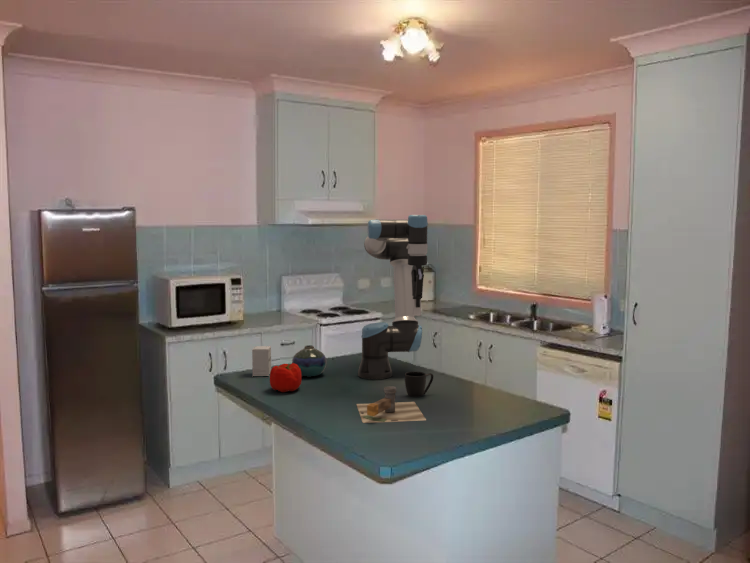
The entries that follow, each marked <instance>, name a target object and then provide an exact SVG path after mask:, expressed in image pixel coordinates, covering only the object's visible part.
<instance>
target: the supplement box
mask: <svg viewBox="0 0 750 563" xmlns="http://www.w3.org/2000/svg"><path fill="white" fill-rule="evenodd" d="M251 351H252V352H251V353H252V354H251V355H252V356H251V358H252V359H251V360H252V377H253V376H269V377H270V375H269V374H270V372H271V369H272V346H270V345H269V346H268V345H258V346H256V345H255V346H254V347H253V348H252V349H251Z"/></svg>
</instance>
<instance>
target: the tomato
mask: <svg viewBox="0 0 750 563" xmlns="http://www.w3.org/2000/svg"><path fill="white" fill-rule="evenodd" d="M269 385H270V387H271V389H272V390H274V391H276V390H278V391H277V392H281V393H286V392H294V391H296V390H298V388H300V386H302V376H301V369H300V368H299V367H298V365H297V364H294V363H292V362H291V363H282V364H280V365H279V366H278V365H275V366H272V367H271V372H270V375H269Z"/></svg>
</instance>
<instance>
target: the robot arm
mask: <svg viewBox="0 0 750 563" xmlns="http://www.w3.org/2000/svg"><path fill="white" fill-rule="evenodd" d="M428 226H429V223H428V216H427V215H426V214H409V215H408V217H407V219H371V220H368V221H367V236H366V238H365V239H364V242H363V247H364V249H365V252H366V253H367V254H368V255H369V256H371V257H372V258H375V259H378V260H389V264H390V266H392V267H393V285H394V287H393V289H394V312H395V313H394V317H395V318H394V319H393V320H392V322H391V325H389V324H388V322H387V321H386V322H382V321H381V322H379V321H378V322H372V323H369V324H365V325H363V327H362V330H361V361H360V363H359V367H358V371H357V376H358V377H359V378H362V379H366V380H384V379H385V380H386V379H389V378H391V377H392V376H393V370H392V367H391V364H390V360H389V353H406V352H407V353H410V352H411V353H412V352H417V351H419V350H420V348H421V344H422V339H423V338H422V337H423V326H422V325H420V324H419V320H417V319H416V318H415V317H416V316H417V317H421V316H422V298H423V292H424V291H423V289H424V288H423V287H424V277H425V274H424V270H423V267H422V266H427V265H428V255H427V254H428Z"/></svg>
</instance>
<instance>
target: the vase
mask: <svg viewBox="0 0 750 563" xmlns="http://www.w3.org/2000/svg"><path fill="white" fill-rule="evenodd" d="M292 363H294V364H297V365H298V367H299V368H300V369H301V377H303V376H307V377H306V378H312V377H311V376H314V377H318V376H320V375H321V374H322V373H324V371H325V370H326V367H327V363H328V362H327V356H326V355H325V354H324V353H323V351H320V350H319V349H316V348H315V346H314V345H311V344H310V345H304V348H302V349H301V350H299V351H297V352H296V353H295V354H294V355H293V357H292V360H291V364H292Z"/></svg>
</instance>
